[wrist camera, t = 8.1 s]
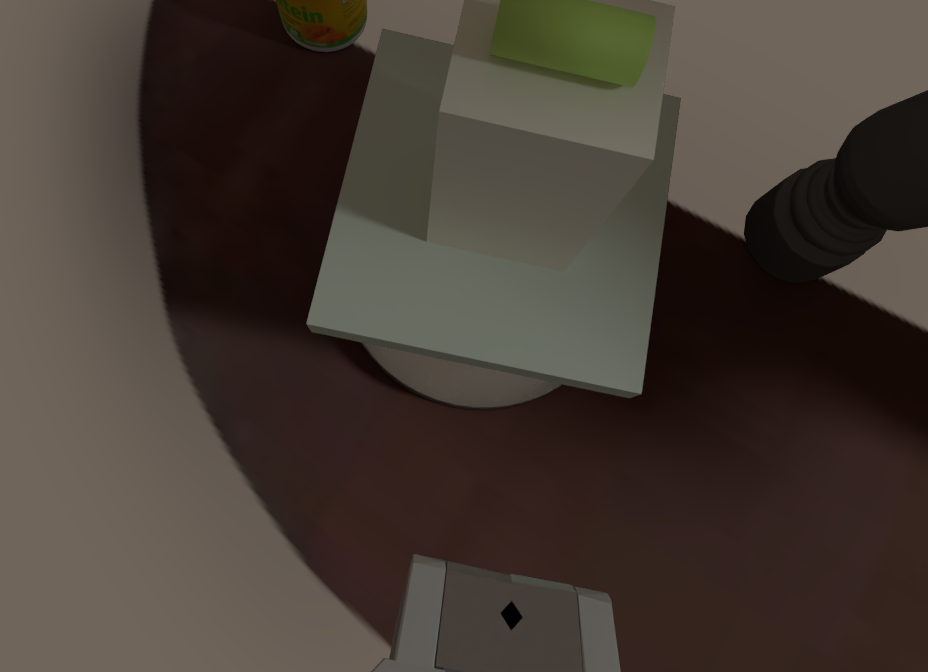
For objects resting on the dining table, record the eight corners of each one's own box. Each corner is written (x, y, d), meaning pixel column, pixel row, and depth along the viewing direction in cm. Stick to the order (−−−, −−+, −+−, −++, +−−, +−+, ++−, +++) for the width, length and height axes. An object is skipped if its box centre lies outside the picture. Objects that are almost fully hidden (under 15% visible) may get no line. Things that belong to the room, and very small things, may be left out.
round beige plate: (589, 435, 37) (642, 426, 28) (312, 378, 36) (285, 352, 28) (628, 181, 40) (685, 108, 32) (375, 125, 39) (368, 34, 31)
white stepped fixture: (629, 398, 28) (823, 333, 15) (311, 332, 27) (228, 203, 14) (667, 115, 31) (856, -141, 18) (383, 50, 30) (368, -265, 17)
